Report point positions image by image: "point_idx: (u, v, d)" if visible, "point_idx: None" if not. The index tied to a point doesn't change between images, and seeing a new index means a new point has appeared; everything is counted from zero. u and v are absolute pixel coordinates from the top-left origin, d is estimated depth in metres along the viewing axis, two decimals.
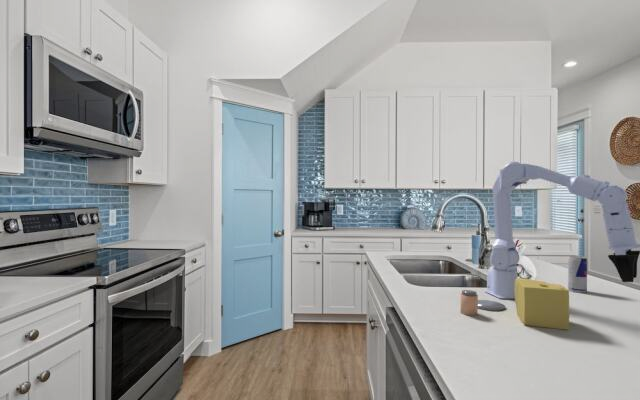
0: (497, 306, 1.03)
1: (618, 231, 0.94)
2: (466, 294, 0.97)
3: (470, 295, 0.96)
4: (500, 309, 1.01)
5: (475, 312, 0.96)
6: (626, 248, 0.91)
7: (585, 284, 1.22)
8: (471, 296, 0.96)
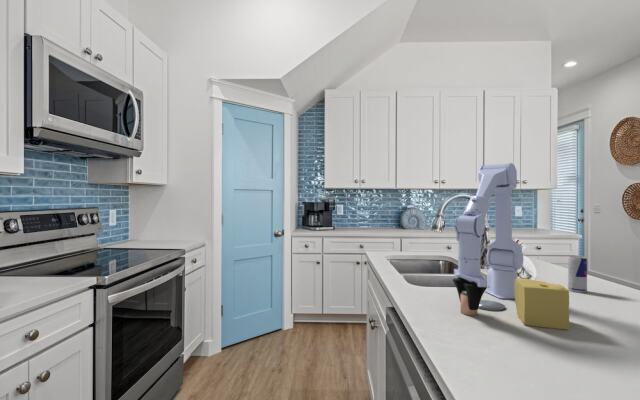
0: (497, 306, 1.03)
1: None
2: (466, 294, 0.97)
3: None
4: (500, 309, 1.01)
5: (475, 312, 0.96)
6: (455, 271, 1.04)
7: (585, 284, 1.22)
8: None
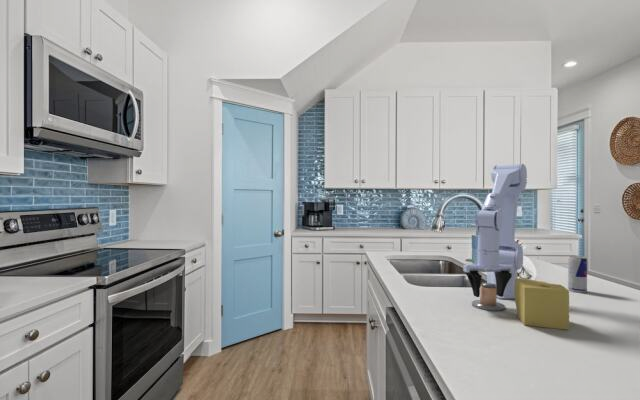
0: (497, 306, 1.03)
1: (479, 252, 1.05)
2: (495, 286, 1.03)
3: None
4: (500, 309, 1.01)
5: None
6: (472, 267, 1.03)
7: (585, 284, 1.22)
8: None
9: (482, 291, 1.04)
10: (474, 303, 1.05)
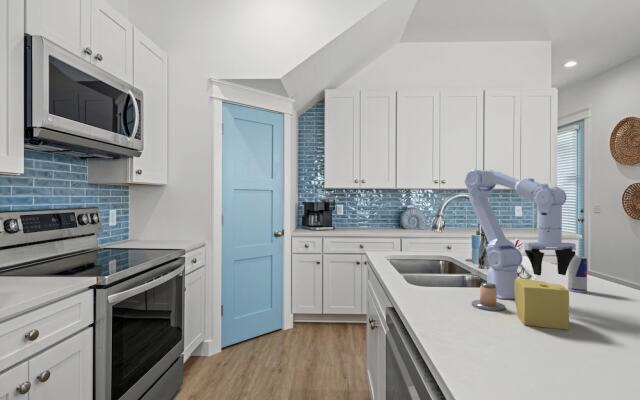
0: (497, 306, 1.03)
1: (540, 229, 1.03)
2: (495, 286, 1.03)
3: None
4: (500, 309, 1.01)
5: None
6: (534, 245, 1.02)
7: (585, 284, 1.22)
8: None
9: (482, 291, 1.04)
10: (474, 303, 1.05)
